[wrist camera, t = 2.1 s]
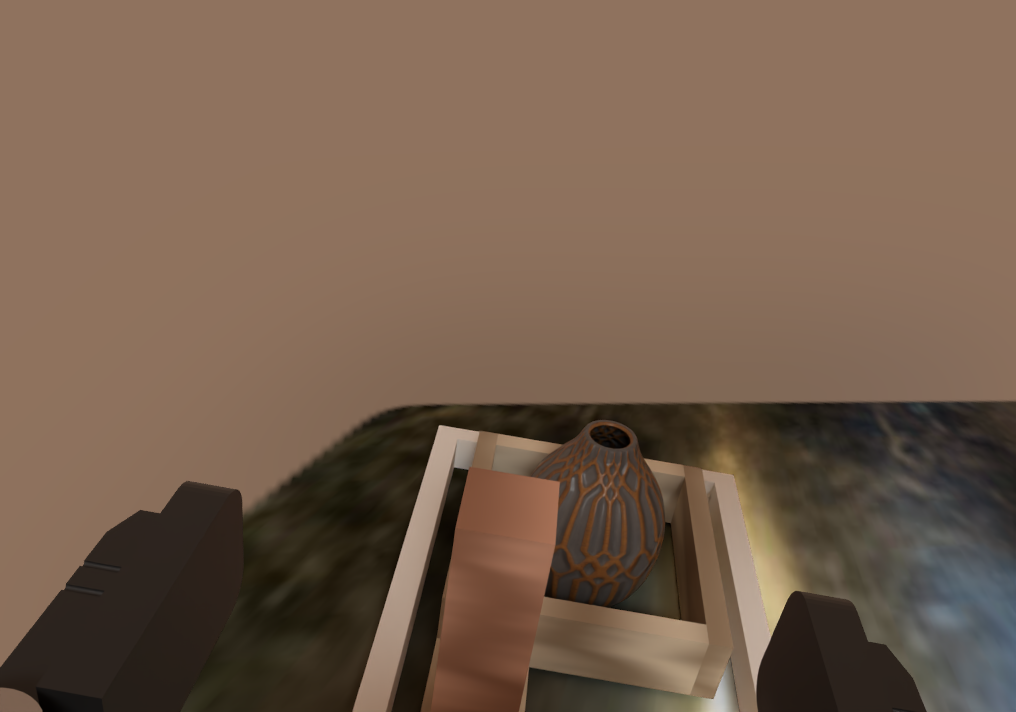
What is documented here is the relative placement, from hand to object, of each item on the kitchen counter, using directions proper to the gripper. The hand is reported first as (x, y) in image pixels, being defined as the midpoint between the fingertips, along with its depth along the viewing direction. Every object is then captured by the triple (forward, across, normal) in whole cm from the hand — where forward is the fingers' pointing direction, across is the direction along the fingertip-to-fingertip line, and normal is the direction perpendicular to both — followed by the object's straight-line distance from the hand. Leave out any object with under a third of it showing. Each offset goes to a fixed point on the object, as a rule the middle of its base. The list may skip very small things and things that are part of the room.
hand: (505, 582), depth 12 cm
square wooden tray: (+19, -4, +20) cm, 27 cm away
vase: (+21, -4, +20) cm, 30 cm away
